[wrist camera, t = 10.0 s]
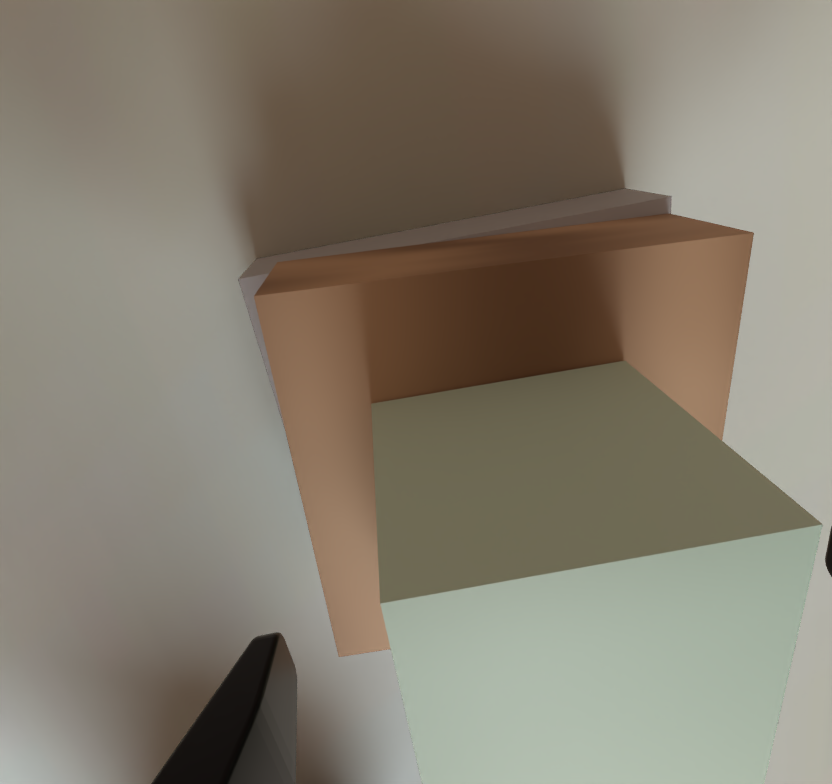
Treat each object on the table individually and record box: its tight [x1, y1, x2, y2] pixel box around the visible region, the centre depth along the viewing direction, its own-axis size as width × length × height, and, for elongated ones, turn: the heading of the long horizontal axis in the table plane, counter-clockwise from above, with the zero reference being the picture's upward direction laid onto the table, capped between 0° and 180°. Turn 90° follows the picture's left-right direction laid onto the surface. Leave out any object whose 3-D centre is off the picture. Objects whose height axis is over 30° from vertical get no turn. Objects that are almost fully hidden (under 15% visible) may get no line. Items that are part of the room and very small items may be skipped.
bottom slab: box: [238, 188, 672, 428], centre depth 16 cm, size 10×10×3 cm
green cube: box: [371, 361, 823, 784], centre depth 9 cm, size 5×5×5 cm
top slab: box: [254, 213, 754, 657], centre depth 13 cm, size 9×9×3 cm
